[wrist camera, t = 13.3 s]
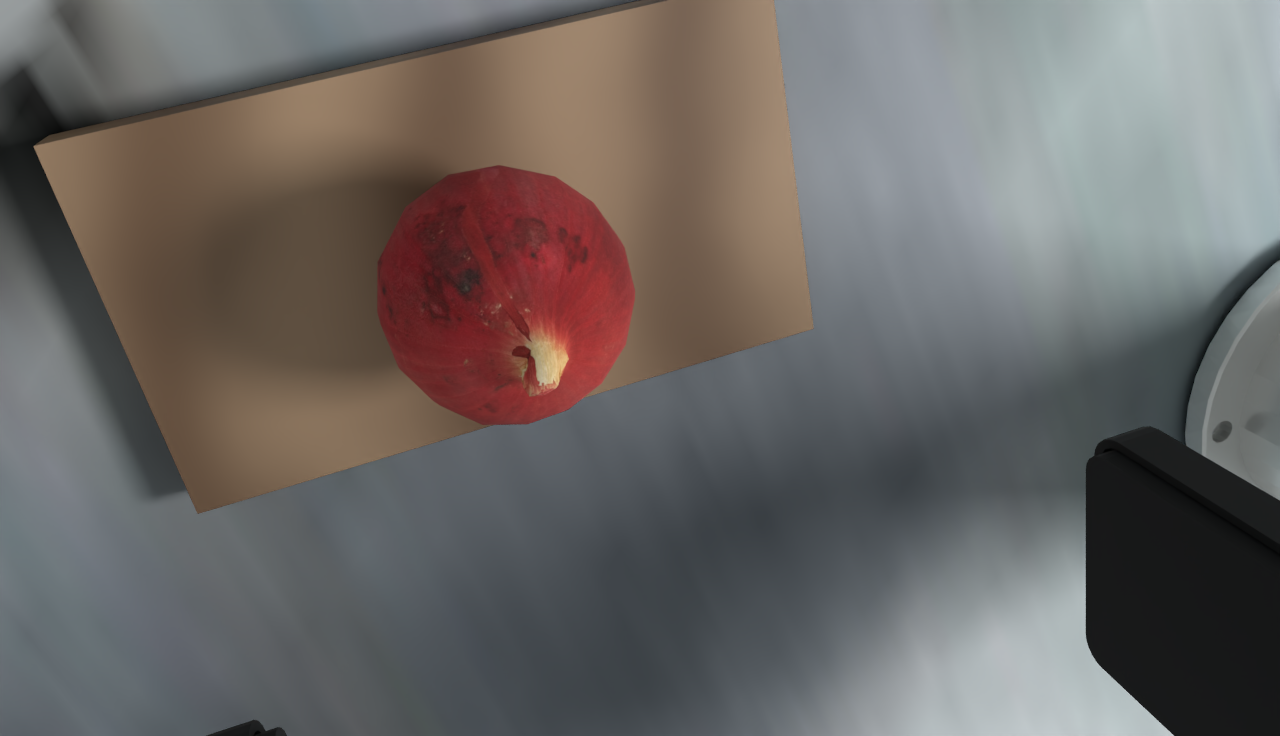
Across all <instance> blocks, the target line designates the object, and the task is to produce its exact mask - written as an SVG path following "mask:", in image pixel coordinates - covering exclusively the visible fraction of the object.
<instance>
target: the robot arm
mask: <svg viewBox="0 0 1280 736" xmlns="http://www.w3.org/2000/svg"><path fill="white" fill-rule="evenodd" d="M1185 440H1186V445H1184V444H1182V443H1181V442H1179V441H1177V440H1175V439H1174V438H1172V437H1170V436H1169V435H1167V434H1165V433H1163V432H1162V431H1160V430H1158V429H1155V428H1153V427H1141V428H1138V429H1135V430H1132V431H1129V432H1126V433H1123V434H1120V435H1117V436H1114V437H1111V438H1108V439H1105V440H1103V441H1101V442H1100V443H1099V444H1098V445H1097V447H1096V449H1095V455H1094V456H1093V457H1092V458H1090V459H1089V460H1088V462H1087V466H1086V639H1087V643H1088V646H1089V649H1090V651H1091V653H1092V655H1093V657H1094V658H1095V660H1096V661H1097V663H1098V664H1099V665H1100V666H1101V667H1102V668H1103V669H1104V670H1105V671H1106V672H1107V673H1108V674H1109V675H1110V676H1111V677H1112V678H1113V679H1115V680H1116V681H1117V682H1118V683H1119V684H1120V685H1121V686H1122V687H1123V688H1124V689H1125V690H1126V691H1127V692H1128V693H1129V694H1130V695H1132V696H1133V697H1134V698H1135V699H1136V700H1137V701H1138V702H1139V703H1140V704H1141V705H1142V706H1143V707H1144V708H1145V709H1146V710H1147V711H1149V712H1150V713H1151V714H1152V715H1153V716H1154V717H1155V718H1156V719H1157V720H1158V721H1159V722H1160V723H1161V724H1162V725H1163V726H1164V727H1166V728H1167V729H1168V730H1169V731H1170V732H1171V733H1172V734H1173V735H1174V736H1280V260H1279V261H1278V262H1276V263H1275V264H1273V265H1272V266H1271V267H1270V268H1269V269H1268V270H1267V271H1266V272H1265V273H1264V274H1263V275H1262V276H1261V277H1260V278H1259V279H1258V280H1257V281H1256V282H1255V283H1254V284H1253V285H1252V286H1251V287H1250V288H1249V289H1248V290H1247V291H1246V292H1245V293H1244V295H1243V296H1242V297H1241V299H1240V300H1239V301H1238V302H1237V304H1236V305H1235V306H1234V307H1233V309H1232V310H1231V311H1230V312H1229V314H1228V315H1227V316H1226V318H1225V320H1224V321H1223V323H1222V325H1221V326H1220V328H1219V330H1218V331H1217V333H1216V335H1215V336H1214V338H1213V340H1212V341H1211V343H1210V345H1209V346H1208V349H1207V351H1206V353H1205V356H1204V358H1203V360H1202V363H1201V365H1200V367H1199V370H1198V372H1197V374H1196V377H1195V381H1194V385H1193V388H1192V392H1191V396H1190V399H1189V403H1188V410H1187V420H1186V430H1185ZM207 736H287V735H286V733H285V731H284V730H283V729H282V728H280V727H278V728H274V729H271V730H268V731H265V729H264V727H263V726H262V724H261V723H260V722H259V721H257V720H252V721H249V722H246V723H243V724H240V725H237V726H234V727H231V728H228V729H225V730H222V731H219V732H216V733H213V734H210V735H207Z"/></svg>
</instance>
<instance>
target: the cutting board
mask: <svg viewBox="0 0 1280 736" xmlns="http://www.w3.org/2000/svg"><path fill="white" fill-rule="evenodd" d="M33 147H34V149H35V151H36V153H37V156H38V158H39V160H40V162H41V164H42V167H43V169H44V171H45V173H46V176H47V178H48V180H49V182H50V185H51V187H52V189H53V191H54V194H55V196H56V198H57V200H58V202H59V205H60V207H61V209H62V211H63V214H64V216H65V218H66V220H67V223H68V225H69V227H70V229H71V232H72V234H73V236H74V238H75V240H76V243H77V245H78V247H79V249H80V252H81V254H82V256H83V258H84V261H85V263H86V265H87V267H88V270H89V272H90V274H91V276H92V278H93V281H94V283H95V285H96V287H97V290H98V292H99V294H100V296H101V299H102V301H103V303H104V305H105V308H106V310H107V312H108V314H109V317H110V319H111V321H112V323H113V325H114V328H115V330H116V332H117V334H118V337H119V339H120V341H121V343H122V346H123V348H124V350H125V352H126V355H127V357H128V359H129V361H130V363H131V366H132V368H133V370H134V372H135V375H136V377H137V379H138V381H139V384H140V386H141V388H142V390H143V393H144V395H145V397H146V399H147V401H148V404H149V406H150V408H151V410H152V413H153V415H154V417H155V419H156V422H157V424H158V426H159V428H160V431H161V433H162V435H163V437H164V440H165V442H166V444H167V446H168V448H169V451H170V453H171V455H172V457H173V460H174V462H175V464H176V466H177V469H178V471H179V473H180V475H181V478H182V480H183V482H184V484H185V486H186V489H187V491H188V493H189V495H190V498H191V500H192V502H193V504H194V507H195V509H196V511H197V513H198V514H199V513H202V512H206V511H209V510H212V509H215V508H219V507H222V506H225V505H229V504H232V503H235V502H239V501H242V500H245V499H249V498H252V497H255V496H259V495H262V494H265V493H269V492H272V491H275V490H279V489H282V488H285V487H289V486H292V485H295V484H299V483H302V482H305V481H309V480H312V479H315V478H319V477H322V476H325V475H329V474H332V473H335V472H339V471H342V470H345V469H349V468H352V467H355V466H359V465H362V464H365V463H369V462H372V461H375V460H379V459H382V458H385V457H389V456H392V455H395V454H399V453H402V452H405V451H409V450H412V449H415V448H418V447H422V446H425V445H428V444H432V443H435V442H438V441H442V440H445V439H448V438H452V437H455V436H458V435H462V434H465V433H468V432H472V431H475V430H478V429H482V428H485V427H488V426H492V425H482V424H479V423H477V422H475V421H473V420H470V419H468V418H466V417H464V416H462V415H459V414H457V413H455V412H453V411H451V410H448V409H446V408H444V407H442V406H440V405H438V404H437V403H435V402H434V401H433V400H431V399H430V398H429V397H428V396H427V395H426V394H425V393H424V392H423V391H422V390H421V389H420V388H419V387H418V386H417V385H416V384H415V383H414V382H413V381H412V380H411V379H410V378H409V377H408V376H407V375H405V374H404V373H403V372H402V371H401V370H400V369H399V367H398V365H397V363H396V360H395V358H394V355H393V353H392V351H391V348H390V346H389V343H388V341H387V339H386V336H385V334H384V331H383V329H382V327H381V324H380V320H379V317H378V313H377V266H378V260H379V258H380V256H381V254H382V252H383V250H384V248H385V246H386V244H387V242H388V241H389V239H390V237H391V235H392V233H393V231H394V229H395V227H396V225H397V223H398V221H399V219H400V217H401V215H402V213H403V211H404V209H405V207H406V206H407V205H409V204H410V203H411V202H413V201H414V200H415V199H417V198H418V197H419V196H421V195H422V194H423V193H425V192H426V191H427V190H429V189H430V188H431V187H433V186H434V185H435V184H437V183H438V182H439V181H441V180H442V179H443V178H444V177H446V176H447V175H450V174H455V173H460V172H465V171H471V170H476V169H481V168H486V167H492V166H497V165H502V166H507V167H512V168H516V169H521V170H526V171H531V172H536V173H541V174H546V175H551V176H555V177H557V178H558V179H560V180H561V181H563V182H564V183H566V184H567V185H569V186H570V187H572V188H573V189H575V190H576V191H578V192H579V193H581V194H582V195H583V196H585V197H586V198H588V199H589V200H591V201H592V202H594V204H595V205H596V207H597V208H598V209H599V211H600V212H601V214H602V215H603V216H604V218H605V219H606V220H607V222H608V223H609V225H610V226H611V227H612V229H613V230H614V232H615V233H616V234H617V236H618V237H619V239H620V240H621V242H622V244H623V245H624V247H625V251H626V255H627V259H628V263H629V268H630V272H631V276H632V280H633V284H634V288H635V301H634V306H633V311H632V316H631V321H630V326H629V331H628V336H627V341H626V345H625V347H624V348H623V350H622V352H621V353H620V355H619V356H618V358H617V360H616V361H615V363H614V365H613V366H612V368H611V369H610V371H609V373H608V374H607V376H606V377H605V379H604V381H603V382H602V384H600V385H599V386H598V387H596V388H595V389H594V390H593V391H591V392H590V393H589V394H587V395H586V396H585V397H588V396H592V395H595V394H598V393H602V392H605V391H608V390H612V389H615V388H618V387H621V386H625V385H628V384H631V383H635V382H638V381H641V380H645V379H648V378H651V377H655V376H658V375H661V374H665V373H668V372H671V371H675V370H678V369H681V368H685V367H688V366H691V365H695V364H698V363H701V362H705V361H708V360H711V359H715V358H718V357H721V356H725V355H728V354H731V353H735V352H738V351H741V350H745V349H748V348H751V347H755V346H758V345H761V344H765V343H768V342H771V341H775V340H778V339H781V338H785V337H788V336H791V335H795V334H798V333H801V332H805V331H808V330H811V329H814V328H813V319H812V311H811V303H810V295H809V286H808V278H807V270H806V262H805V253H804V245H803V237H802V229H801V220H800V212H799V204H798V196H797V187H796V179H795V171H794V163H793V154H792V146H791V138H790V130H789V121H788V113H787V105H786V97H785V88H784V80H783V72H782V64H781V55H780V47H779V39H778V31H777V22H776V14H775V6H774V0H639V1H634V2H630V3H626V4H621V5H617V6H613V7H608V8H604V9H599V10H595V11H591V12H586V13H582V14H578V15H573V16H569V17H564V18H560V19H556V20H551V21H547V22H543V23H538V24H534V25H529V26H525V27H521V28H516V29H512V30H507V31H503V32H499V33H494V34H490V35H486V36H481V37H477V38H472V39H468V40H464V41H459V42H455V43H451V44H446V45H442V46H437V47H433V48H429V49H424V50H420V51H416V52H411V53H407V54H402V55H398V56H394V57H389V58H385V59H381V60H376V61H372V62H367V63H363V64H359V65H354V66H350V67H346V68H341V69H337V70H332V71H328V72H324V73H319V74H315V75H311V76H306V77H302V78H297V79H293V80H289V81H284V82H280V83H275V84H271V85H267V86H262V87H258V88H254V89H249V90H245V91H240V92H236V93H232V94H227V95H223V96H219V97H214V98H210V99H205V100H201V101H197V102H192V103H188V104H184V105H179V106H175V107H170V108H166V109H162V110H157V111H153V112H149V113H144V114H140V115H135V116H131V117H127V118H122V119H118V120H114V121H109V122H105V123H100V124H96V125H92V126H87V127H83V128H78V129H74V130H70V131H65V132H61V133H57V134H52V135H49V136H47V137H46V138H44V139H43V140H42V141H40V142H39V143H37V144H36V145H34V146H33ZM585 397H584V398H585Z"/></svg>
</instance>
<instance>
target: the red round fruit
mask: <svg viewBox="0 0 1280 736" xmlns="http://www.w3.org/2000/svg"><path fill="white" fill-rule="evenodd" d="M634 301H635V288H634V284H633V280H632V276H631V272H630V268H629V263H628V259H627V255H626V251H625V247H624V245H623V244H622V242H621V240H620V239H619V237H618V236H617V234H616V233H615V232H614V230H613V229H612V227H611V226H610V225H609V223H608V222H607V220H606V219H605V218H604V216H603V215H602V214H601V212H600V211H599V209H598V208H597V207H596V205H595V204H594V202H592V201H591V200H589V199H588V198H586V197H585V196H583V195H582V194H581V193H579V192H578V191H576V190H575V189H573V188H572V187H570V186H569V185H567V184H566V183H564V182H563V181H561V180H560V179H558V178H557V177H555V176H551V175H546V174H541V173H536V172H531V171H526V170H521V169H516V168H512V167H507V166H502V165H497V166H492V167H486V168H481V169H476V170H471V171H465V172H460V173H455V174H450V175H447V176H446V177H444V178H443V179H442V180H441V181H439V182H438V183H437V184H435V185H434V186H433V187H431V188H430V189H429V190H427V191H426V192H425V193H423V194H422V195H421V196H419V197H418V198H417V199H415V200H414V201H413V202H411V203H410V204H409V205H407V206H406V207H405V209H404V211H403V213H402V215H401V217H400V219H399V221H398V223H397V225H396V227H395V229H394V231H393V233H392V235H391V237H390V239H389V241H388V242H387V244H386V246H385V248H384V250H383V252H382V254H381V256H380V258H379V260H378V266H377V313H378V317H379V320H380V324H381V327H382V329H383V331H384V334H385V336H386V339H387V341H388V343H389V346H390V348H391V351H392V353H393V355H394V358H395V360H396V363H397V365H398V367H399V369H400V370H401V371H402V372H403V373H404V374H405V375H407V376H408V377H409V378H410V379H411V380H412V381H413V382H414V383H415V384H416V385H417V386H418V387H419V388H420V389H421V390H422V391H423V392H424V393H425V394H426V395H427V396H428V397H429V398H430V399H431V400H433V401H434V402H435V403H437V404H438V405H440V406H442V407H444V408H446V409H448V410H451V411H453V412H455V413H457V414H459V415H462V416H464V417H466V418H468V419H470V420H473V421H475V422H477V423H479V424H482V425H506V424H529V423H532V422H535V421H538V420H541V419H543V418H546V417H549V416H552V415H555V414H557V413H560V412H563V411H566V410H568V409H570V408H571V407H572V406H573V405H575V404H576V403H577V402H579V401H580V400H581V399H582V398H584V397H585V396H586V395H587V394H589V393H590V392H591V391H593V390H594V389H595V388H596V387H598V386H599V385H600V384H602V382H603V381H604V379H605V377H606V376H607V374H608V373H609V371H610V369H611V368H612V366H613V365H614V363H615V361H616V360H617V358H618V356H619V355H620V353H621V352H622V350H623V348H624V347H625V345H626V341H627V336H628V331H629V326H630V321H631V316H632V311H633V306H634Z"/></svg>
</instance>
